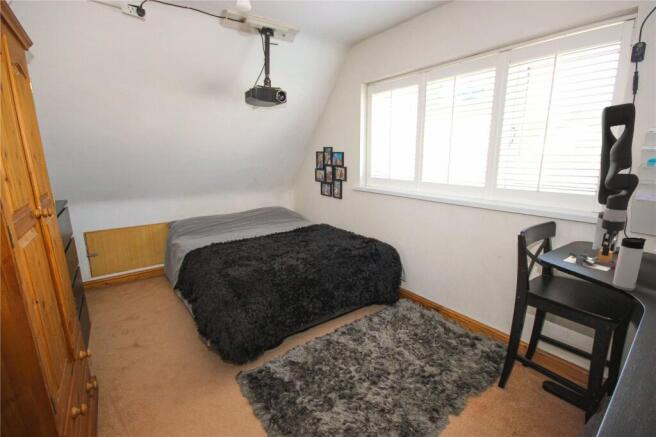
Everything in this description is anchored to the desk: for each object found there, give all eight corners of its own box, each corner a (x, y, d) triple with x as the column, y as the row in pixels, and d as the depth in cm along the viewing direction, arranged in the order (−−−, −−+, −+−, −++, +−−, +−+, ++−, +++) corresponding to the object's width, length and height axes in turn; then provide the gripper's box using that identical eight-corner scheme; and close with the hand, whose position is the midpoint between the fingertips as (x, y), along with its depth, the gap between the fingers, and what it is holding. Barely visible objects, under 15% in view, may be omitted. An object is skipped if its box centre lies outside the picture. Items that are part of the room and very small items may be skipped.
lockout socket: (595, 259, 147) (596, 256, 147) (617, 264, 141) (618, 260, 141) (590, 262, 143) (590, 259, 143) (612, 268, 137) (613, 264, 136)
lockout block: (599, 261, 145) (601, 249, 143) (610, 263, 142) (613, 251, 140) (596, 263, 142) (599, 250, 141) (608, 265, 139) (610, 253, 138)
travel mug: (639, 291, 117) (651, 241, 112) (619, 290, 118) (630, 240, 114) (627, 284, 123) (638, 236, 118) (608, 283, 124) (618, 235, 120)
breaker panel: (573, 256, 155) (574, 253, 154) (616, 265, 142) (616, 262, 142) (562, 263, 146) (563, 259, 146) (606, 273, 134) (607, 269, 133)
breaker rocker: (572, 252, 147) (573, 250, 146) (593, 264, 141) (595, 261, 140) (569, 254, 145) (570, 252, 144) (590, 266, 139) (592, 263, 138)
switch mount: (580, 260, 146) (581, 253, 145) (586, 261, 144) (587, 255, 143) (575, 263, 142) (576, 256, 142) (581, 264, 140) (583, 257, 140)
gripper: (607, 215, 144) (601, 248, 148) (598, 219, 136) (592, 254, 140) (629, 217, 138) (622, 252, 142) (621, 223, 130) (614, 259, 134)
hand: (607, 253), depth 141 cm, fingers open, 8 cm apart
